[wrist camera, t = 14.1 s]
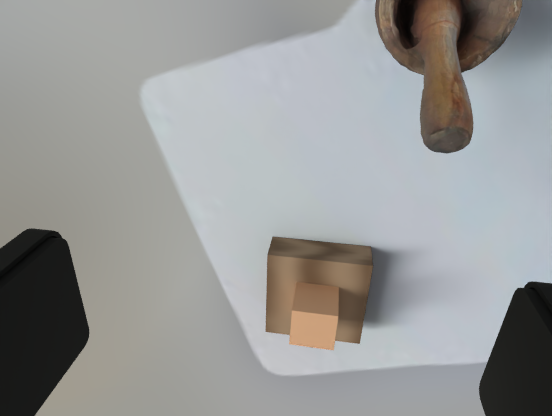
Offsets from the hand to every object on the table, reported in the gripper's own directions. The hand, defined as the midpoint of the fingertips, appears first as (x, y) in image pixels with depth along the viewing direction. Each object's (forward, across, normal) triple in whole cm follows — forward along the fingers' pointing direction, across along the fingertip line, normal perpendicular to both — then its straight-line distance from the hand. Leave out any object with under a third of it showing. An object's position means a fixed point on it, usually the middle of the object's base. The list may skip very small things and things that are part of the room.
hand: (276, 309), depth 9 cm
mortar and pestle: (+36, -8, -4) cm, 38 cm away
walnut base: (+36, -1, +27) cm, 45 cm away
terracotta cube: (+32, -1, +27) cm, 42 cm away
